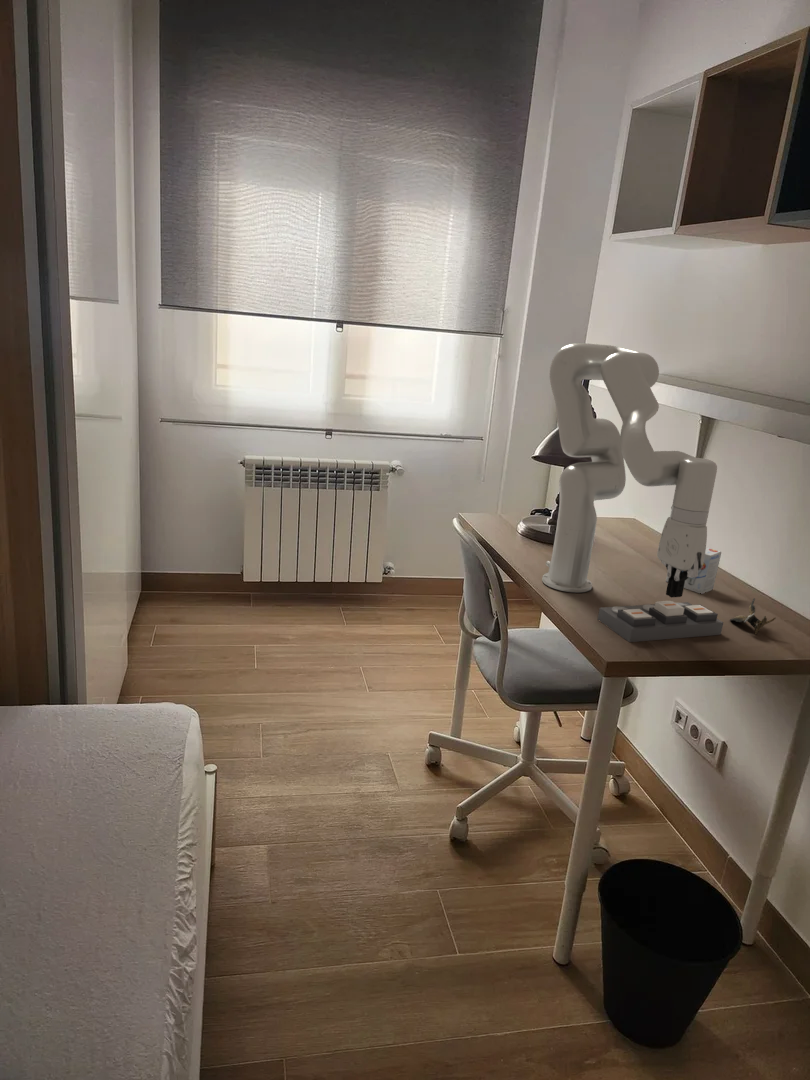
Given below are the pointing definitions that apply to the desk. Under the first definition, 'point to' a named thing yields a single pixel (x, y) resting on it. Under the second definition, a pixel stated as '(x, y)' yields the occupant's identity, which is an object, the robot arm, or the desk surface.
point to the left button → (637, 613)
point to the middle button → (669, 608)
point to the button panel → (659, 623)
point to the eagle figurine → (753, 618)
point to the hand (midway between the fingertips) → (673, 595)
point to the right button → (698, 609)
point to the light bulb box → (705, 573)
